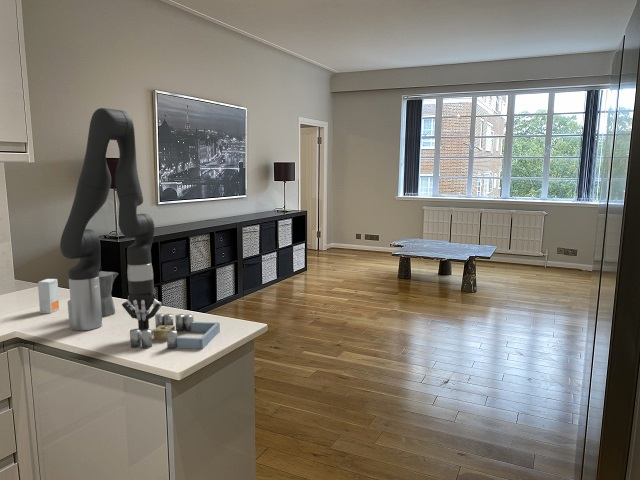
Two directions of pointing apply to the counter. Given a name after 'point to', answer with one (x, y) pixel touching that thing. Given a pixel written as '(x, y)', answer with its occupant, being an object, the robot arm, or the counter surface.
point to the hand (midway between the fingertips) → (144, 331)
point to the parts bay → (200, 343)
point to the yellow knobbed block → (162, 332)
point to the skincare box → (48, 295)
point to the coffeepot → (106, 292)
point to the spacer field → (167, 319)
